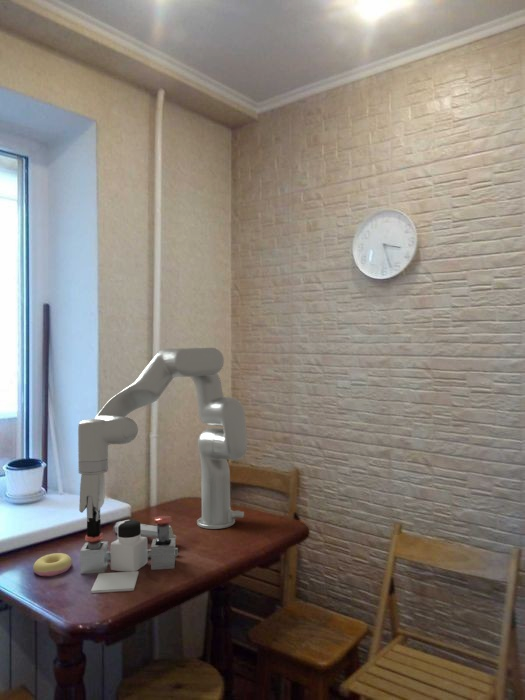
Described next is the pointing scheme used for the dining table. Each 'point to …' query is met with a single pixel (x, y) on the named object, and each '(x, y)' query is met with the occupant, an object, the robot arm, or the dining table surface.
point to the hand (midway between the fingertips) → (93, 535)
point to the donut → (52, 564)
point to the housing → (99, 557)
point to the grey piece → (148, 530)
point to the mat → (115, 582)
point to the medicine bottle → (128, 547)
